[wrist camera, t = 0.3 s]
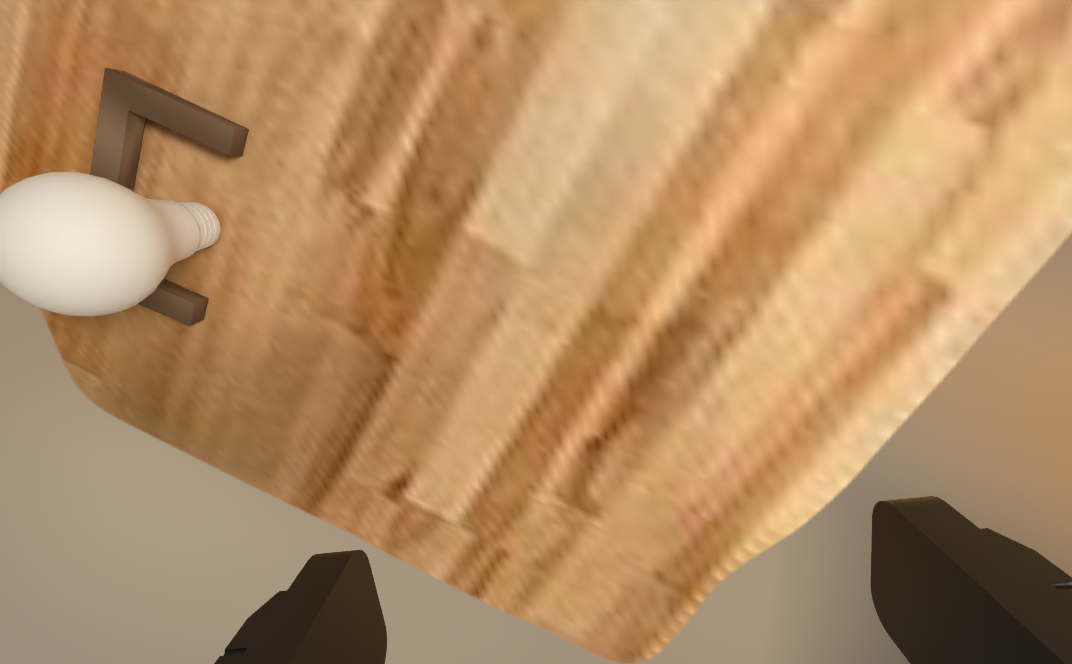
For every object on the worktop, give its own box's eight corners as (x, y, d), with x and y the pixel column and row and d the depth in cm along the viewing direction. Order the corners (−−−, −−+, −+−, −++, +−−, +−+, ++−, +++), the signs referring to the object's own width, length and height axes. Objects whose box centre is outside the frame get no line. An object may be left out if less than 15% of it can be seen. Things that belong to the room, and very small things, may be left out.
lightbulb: (253, 288, 31) (88, 355, 20) (154, 256, 31) (-63, 308, 20) (266, 187, 29) (90, 205, 18) (160, 153, 29) (-78, 151, 18)
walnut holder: (124, 71, 27) (105, 67, 26) (248, 129, 28) (234, 128, 27) (94, 271, 31) (76, 276, 30) (203, 319, 32) (189, 325, 31)
